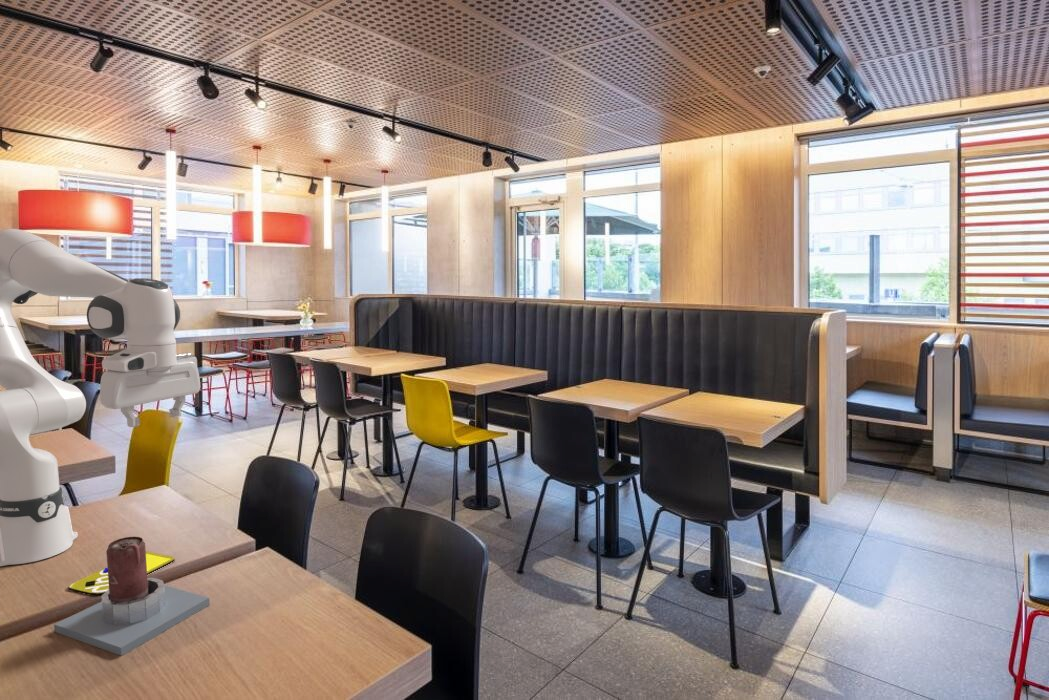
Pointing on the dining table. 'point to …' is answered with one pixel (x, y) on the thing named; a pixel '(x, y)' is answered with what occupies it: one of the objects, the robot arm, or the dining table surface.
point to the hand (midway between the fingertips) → (155, 421)
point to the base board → (128, 637)
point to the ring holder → (135, 606)
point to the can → (127, 569)
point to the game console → (99, 580)
